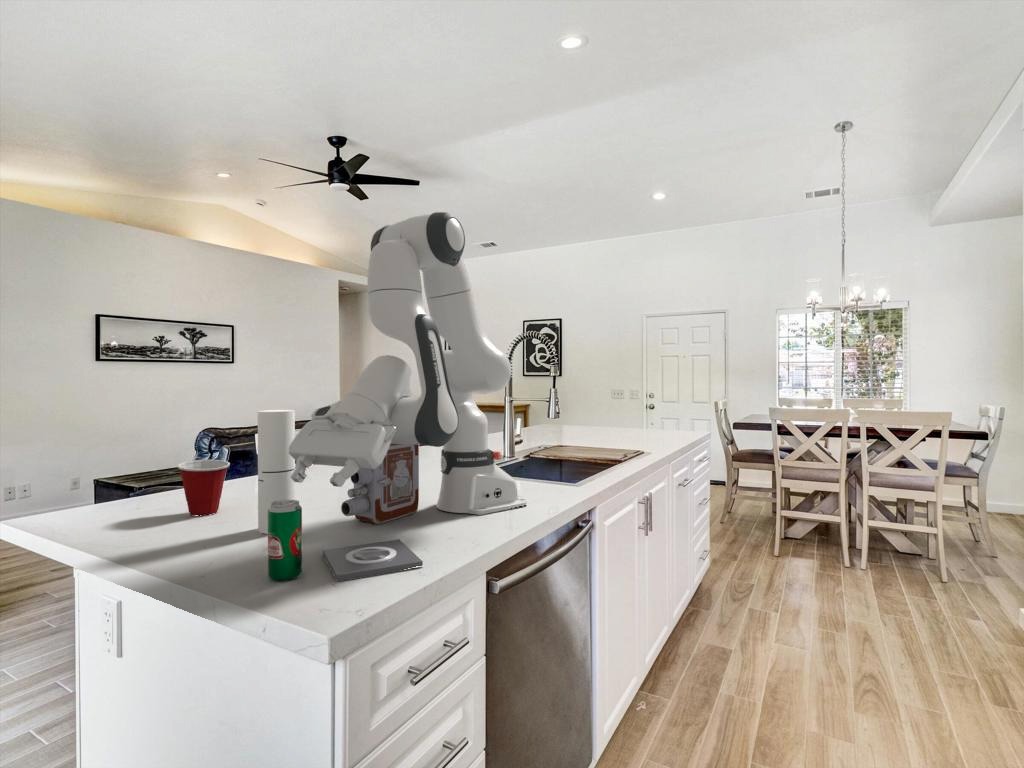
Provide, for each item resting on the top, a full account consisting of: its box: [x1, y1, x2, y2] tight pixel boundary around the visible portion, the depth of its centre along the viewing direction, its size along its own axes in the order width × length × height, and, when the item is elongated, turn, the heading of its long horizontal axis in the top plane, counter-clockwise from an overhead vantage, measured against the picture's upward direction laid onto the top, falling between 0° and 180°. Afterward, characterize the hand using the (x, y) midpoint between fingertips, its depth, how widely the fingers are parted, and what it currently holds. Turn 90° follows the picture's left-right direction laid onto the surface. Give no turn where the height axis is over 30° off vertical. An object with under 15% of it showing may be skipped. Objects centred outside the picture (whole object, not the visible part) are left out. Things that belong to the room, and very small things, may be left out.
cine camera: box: [340, 444, 420, 525], centre depth 122 cm, size 9×19×20 cm, turn 146°
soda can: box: [267, 499, 303, 583], centre depth 87 cm, size 5×5×12 cm
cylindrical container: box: [257, 409, 296, 535], centre depth 114 cm, size 7×7×25 cm
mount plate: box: [322, 539, 424, 582], centre depth 94 cm, size 14×14×1 cm
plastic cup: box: [176, 459, 231, 517], centre depth 127 cm, size 11×11×12 cm
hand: (314, 482), depth 92 cm, fingers open, 8 cm apart
